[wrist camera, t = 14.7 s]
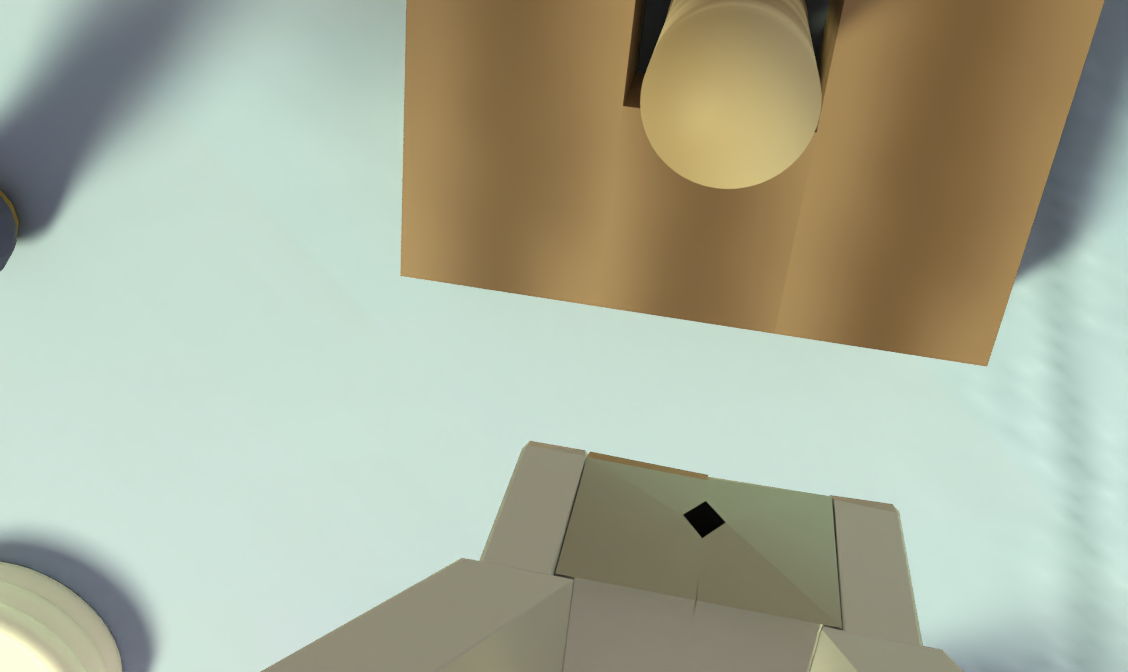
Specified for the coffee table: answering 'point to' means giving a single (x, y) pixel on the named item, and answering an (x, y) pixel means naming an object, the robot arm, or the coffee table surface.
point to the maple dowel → (732, 90)
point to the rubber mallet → (7, 229)
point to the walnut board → (751, 214)
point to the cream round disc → (50, 627)
